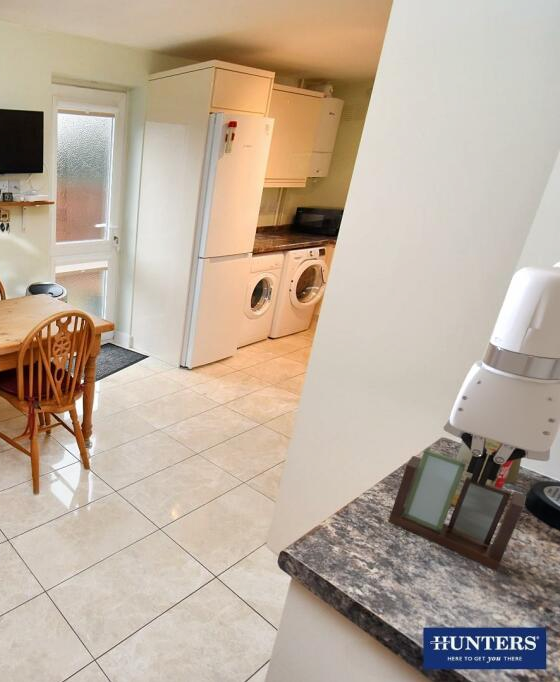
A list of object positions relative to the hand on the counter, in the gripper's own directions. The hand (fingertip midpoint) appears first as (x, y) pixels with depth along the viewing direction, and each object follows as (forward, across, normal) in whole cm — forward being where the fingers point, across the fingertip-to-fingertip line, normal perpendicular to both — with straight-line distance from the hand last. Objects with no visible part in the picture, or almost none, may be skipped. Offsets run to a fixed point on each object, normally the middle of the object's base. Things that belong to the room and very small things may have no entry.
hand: (478, 480), depth 64 cm
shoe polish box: (+12, +1, -15) cm, 20 cm away
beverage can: (+12, 0, -22) cm, 26 cm away
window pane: (+10, +4, 0) cm, 11 cm away
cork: (+12, -2, -32) cm, 34 cm away
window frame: (+12, +2, -1) cm, 12 cm away
